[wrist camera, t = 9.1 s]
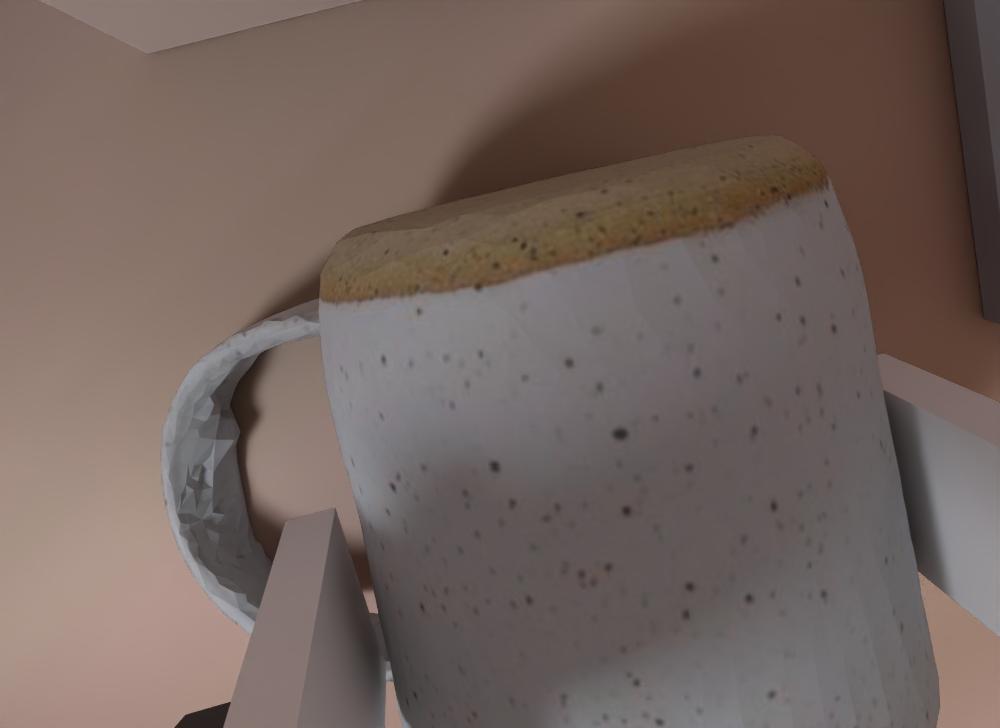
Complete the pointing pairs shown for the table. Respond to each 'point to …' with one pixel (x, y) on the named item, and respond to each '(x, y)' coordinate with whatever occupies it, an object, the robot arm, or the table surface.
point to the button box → (183, 18)
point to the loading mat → (980, 130)
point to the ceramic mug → (601, 454)
